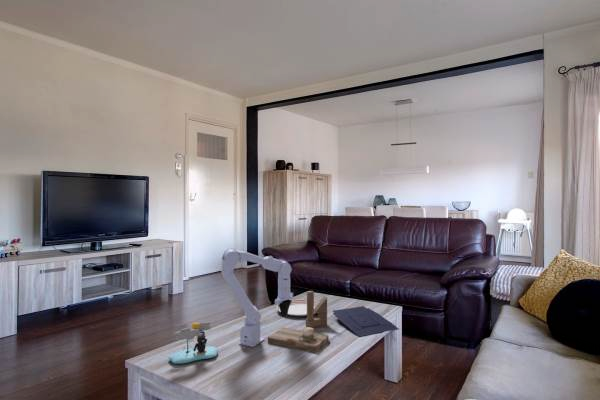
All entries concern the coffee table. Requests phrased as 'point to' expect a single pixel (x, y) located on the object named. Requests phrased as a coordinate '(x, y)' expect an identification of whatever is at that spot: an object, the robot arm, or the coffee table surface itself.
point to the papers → (364, 321)
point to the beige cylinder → (308, 333)
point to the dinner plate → (298, 307)
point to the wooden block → (316, 311)
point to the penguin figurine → (201, 350)
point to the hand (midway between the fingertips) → (284, 316)
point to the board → (297, 340)
